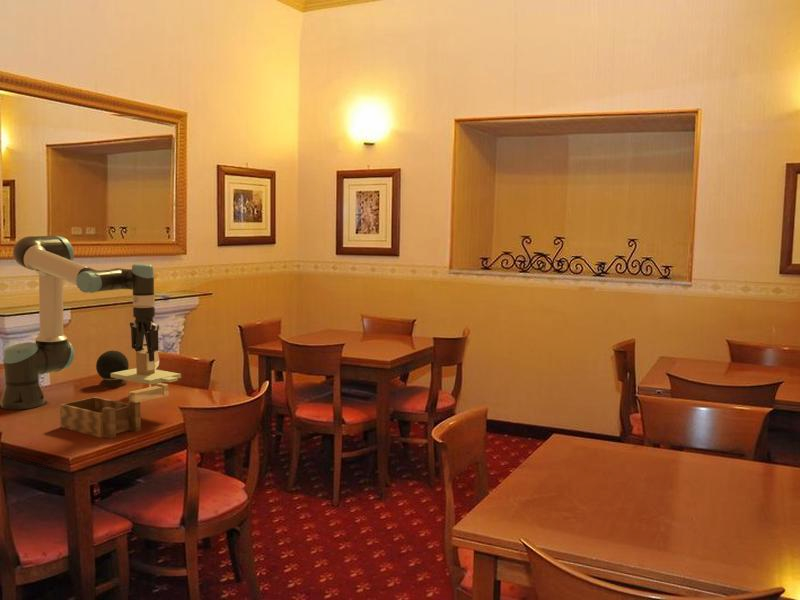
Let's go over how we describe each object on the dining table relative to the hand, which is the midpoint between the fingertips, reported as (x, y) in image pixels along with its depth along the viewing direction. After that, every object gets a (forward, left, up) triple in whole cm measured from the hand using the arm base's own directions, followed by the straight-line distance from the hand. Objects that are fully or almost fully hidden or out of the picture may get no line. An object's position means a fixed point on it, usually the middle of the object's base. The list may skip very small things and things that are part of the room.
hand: (145, 368), depth 279 cm
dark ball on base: (-50, +23, -17) cm, 58 cm away
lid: (+2, 0, -4) cm, 4 cm away
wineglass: (-26, +23, -17) cm, 39 cm away
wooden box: (+4, -22, -17) cm, 28 cm away
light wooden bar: (+15, -11, -7) cm, 20 cm away
